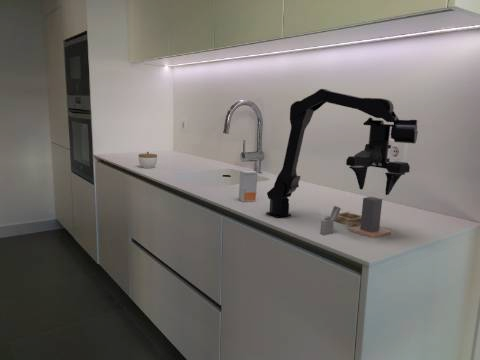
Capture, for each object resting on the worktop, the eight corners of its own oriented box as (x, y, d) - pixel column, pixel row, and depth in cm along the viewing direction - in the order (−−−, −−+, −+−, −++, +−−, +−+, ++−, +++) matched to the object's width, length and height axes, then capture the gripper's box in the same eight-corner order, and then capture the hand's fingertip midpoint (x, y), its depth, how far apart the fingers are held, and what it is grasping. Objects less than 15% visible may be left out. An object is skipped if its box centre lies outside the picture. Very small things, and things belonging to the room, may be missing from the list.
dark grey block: (360, 229, 126) (363, 197, 124) (368, 227, 128) (371, 196, 126) (371, 232, 123) (374, 200, 121) (378, 230, 125) (382, 199, 123)
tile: (348, 230, 126) (348, 228, 126) (366, 226, 132) (366, 224, 132) (373, 238, 119) (373, 236, 119) (390, 233, 125) (390, 231, 125)
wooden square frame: (332, 220, 137) (332, 214, 137) (347, 217, 142) (347, 211, 142) (351, 226, 131) (351, 220, 131) (366, 222, 136) (366, 217, 135)
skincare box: (242, 202, 158) (243, 172, 156) (238, 199, 162) (239, 170, 160) (256, 201, 161) (257, 171, 159) (252, 199, 165) (253, 170, 163)
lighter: (324, 235, 120) (326, 209, 119) (319, 233, 121) (321, 208, 120) (338, 231, 124) (341, 206, 123) (334, 230, 126) (336, 205, 124)
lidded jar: (141, 169, 230) (141, 152, 228) (136, 166, 239) (136, 150, 237) (159, 168, 235) (159, 152, 233) (153, 166, 244) (154, 150, 242)
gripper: (336, 139, 123) (332, 188, 126) (391, 144, 108) (385, 200, 111) (359, 138, 130) (355, 186, 132) (413, 143, 115) (407, 196, 118)
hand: (373, 192), depth 123 cm, fingers open, 9 cm apart
